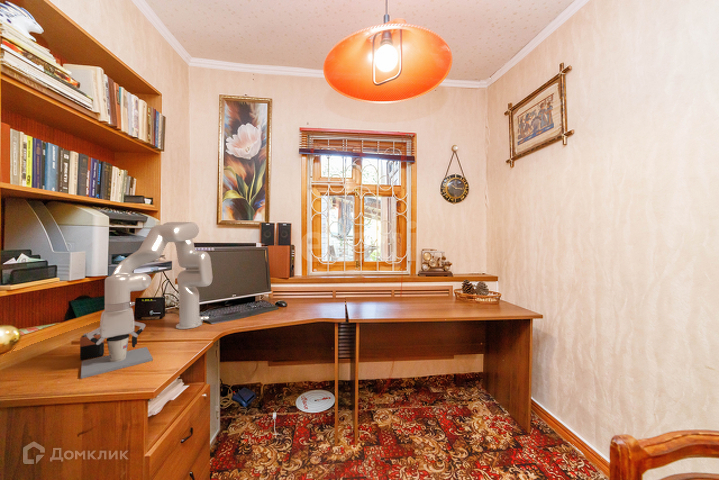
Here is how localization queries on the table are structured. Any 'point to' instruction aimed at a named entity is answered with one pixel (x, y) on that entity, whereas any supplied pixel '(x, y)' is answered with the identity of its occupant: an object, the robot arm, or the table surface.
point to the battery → (89, 347)
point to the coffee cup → (117, 347)
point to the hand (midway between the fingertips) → (117, 350)
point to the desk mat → (106, 365)
